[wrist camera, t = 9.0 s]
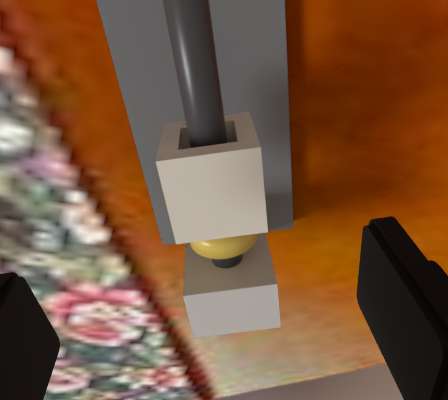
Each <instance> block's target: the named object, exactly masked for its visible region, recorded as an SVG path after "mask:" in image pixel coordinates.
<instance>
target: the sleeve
mask: <svg viewBox="0 0 448 400" xmlns="http://www.w3.org/2000/svg"><path fill="white" fill-rule="evenodd" d="M224 118H225V126H226V133H227V141H228V143H224V144H217V145H210V146H202V147H195V148H191V147H190V142H189V137H188V131H187V126H186V121H181V122H174V123H167V124H164V128H163V132H162V136H161V141H160V145H159V149H158V153H157V158H156V165H157V169H158V173H159V177H160V182H161V186H162V190H163V194H164V198H165V202H166V206H167V210H168V214H169V218H170V222H171V226H172V230H173V234H174V238H175V242H176V244H182V243H189V242H197V241H205V240H212V239H220V238H227V237H235V236H242V235H250V234H257V233H265V232H268V226H267V214H266V202H265V190H264V178H263V166H262V154H261V146H260V143H259V140H258V136H257V133H256V130H255V127H254V124H253V121H252V118H251V115H250V112H245V113H238V114H231V115H224Z"/></svg>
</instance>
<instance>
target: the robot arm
mask: <svg viewBox="0 0 448 400" xmlns="http://www.w3.org/2000/svg"><path fill="white" fill-rule="evenodd" d="M357 300H358V304H359V307H360V309H361V311H362V313H363V315H364V317H365V319H366V321H367V324H368V326H369V328H370V330H371V332H372V334H373V336H374V338H375V340H376V342H377V344H378V346H379V349H380V351H381V353H382V355H383V357H384V359H385V361H386V363H387V365H388V367H389V369H390V372H391V374H392V376H393V378H394V380H395V382H396V384H397V386H398V388H399V390H400V392H401V394H402V397H403V399H404V400H448V276H447V274H446V273H445V272H444V271H443V269H442V268H441V267H440V266H439V265H438V264H437V263H436V262H434V261H432V260H430V261H428V260H427V259H426V257H425V256H424V255H423V253H422V252H421V251H420V250H419V248H418V247H417V246H416V244H415V243H414V242H413V240H412V239H411V238H410V237H409V235H408V234H407V233H406V231H405V230H404V229H403V228H402V226H401V225H400V224H399V222H398V221H397V220H396V219H395V218H394V217H392V216H391V217H384V218H377V219H372V220H370V222H369V225H367V226H364V227H363V233H362V243H361V254H360V265H359V275H358V286H357ZM59 349H60V341H59V338H58V336H57V334H56V332H55V330H54V329H53V327H52V325H51V323H50V322H49V320H48V318H47V317H46V315H45V313H44V311H43V310H42V308H41V306H40V304H39V303H38V301H37V299H36V297H35V296H34V294H33V292H32V291H31V289H30V287H29V285H28V284H27V282H26V280H25V279H24V278H23V277H19V276H18V275H17V274H16V273H14V272H11V273H4V274H0V400H43V399H44V396H45V393H46V389H47V386H48V383H49V380H50V377H51V374H52V371H53V368H54V365H55V362H56V359H57V356H58V353H59Z"/></svg>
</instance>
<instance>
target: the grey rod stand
mask: <svg viewBox="0 0 448 400" xmlns="http://www.w3.org/2000/svg"><path fill="white" fill-rule="evenodd" d="M97 4H98V8H99V11H100V15H101V19H102V22H103V26H104V30H105V34H106V37H107V41H108V45H109V48H110V52H111V56H112V59H113V63H114V67H115V70H116V74H117V78H118V81H119V85H120V89H121V92H122V96H123V100H124V103H125V107H126V111H127V115H128V118H129V122H130V126H131V129H132V133H133V137H134V140H135V144H136V148H137V151H138V155H139V159H140V162H141V166H142V170H143V173H144V177H145V181H146V185H147V188H148V192H149V196H150V199H151V203H152V207H153V210H154V214H155V218H156V221H157V225H158V229H159V232H160V236H161V240H162V243H163V245H168V244H175V243H176V242H175V238H174V234H173V230H172V226H171V222H170V218H169V214H168V210H167V206H166V202H165V198H164V194H163V190H162V186H161V182H160V177H159V173H158V169H157V165H156V158H157V153H158V149H159V145H160V141H161V136H162V132H163V128H164V124H167V123H174V122H181V121H186V126H187V131H188V137H189V142H190V147H191V148H195V147H202V146H210V145H217V144H224V143H228V141H227V133H226V126H225V118H224V115H231V114H238V113H245V112H250V115H251V118H252V121H253V124H254V127H255V130H256V133H257V136H258V140H259V143H260V146H261V154H262V166H263V178H264V190H265V202H266V214H267V226H268V231H274V230H281V229H289V228H294V225H293V199H292V173H291V147H290V122H289V96H288V70H287V44H286V18H285V0H97ZM183 297H184V301H185V305H186V309H187V313H188V317H189V321H190V324H191V328H192V332H193V336H194V338H199V337H207V336H215V335H223V334H231V333H239V332H247V331H254V330H262V329H270V328H278V327H280V314H279V300H278V287H277V281H276V276H275V272H274V268H273V264H272V259H271V255H270V251H269V247H268V242H267V238H266V234H265V233H257V234H250V235H242V236H235V237H227V238H220V239H212V240H205V241H197V242H189V243H186V255H185V273H184V290H183Z"/></svg>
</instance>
